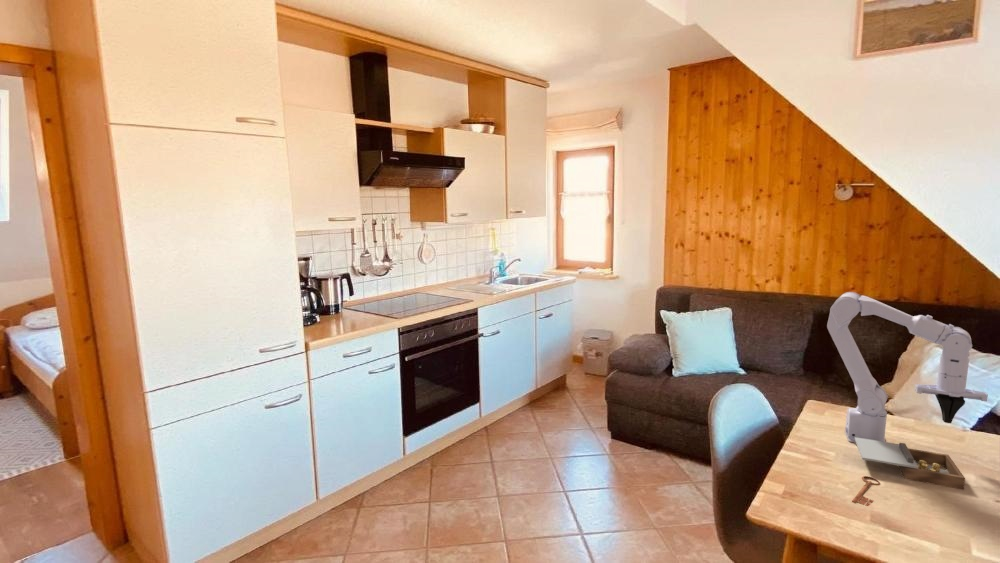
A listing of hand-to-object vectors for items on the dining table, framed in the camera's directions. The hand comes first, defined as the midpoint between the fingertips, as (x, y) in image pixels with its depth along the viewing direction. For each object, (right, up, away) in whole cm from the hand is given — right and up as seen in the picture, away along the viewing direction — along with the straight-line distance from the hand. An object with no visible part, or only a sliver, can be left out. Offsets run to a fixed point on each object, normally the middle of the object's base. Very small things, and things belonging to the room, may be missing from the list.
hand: (946, 421), depth 137 cm
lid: (-18, -8, -2) cm, 20 cm away
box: (-10, -12, -5) cm, 16 cm away
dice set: (-10, -12, -5) cm, 16 cm away
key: (-31, -14, -13) cm, 37 cm away
